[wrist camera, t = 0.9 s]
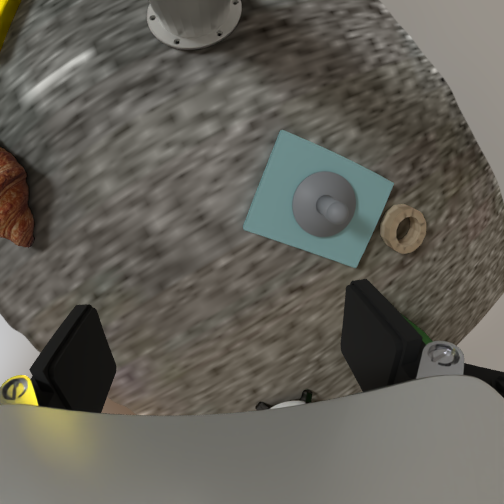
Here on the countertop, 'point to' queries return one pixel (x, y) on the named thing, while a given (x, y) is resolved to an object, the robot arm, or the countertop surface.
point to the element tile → (7, 16)
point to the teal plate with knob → (317, 201)
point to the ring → (391, 224)
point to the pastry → (14, 202)
